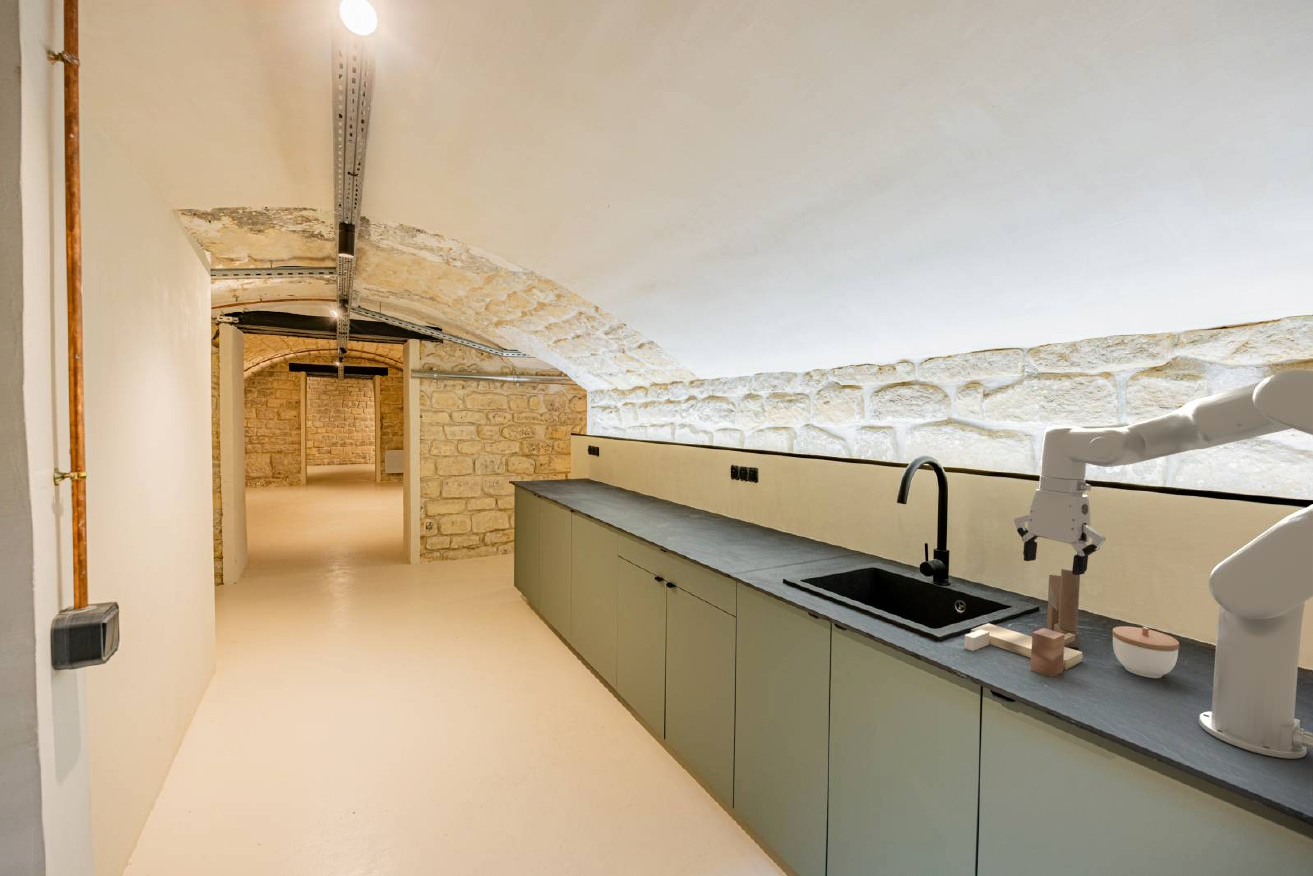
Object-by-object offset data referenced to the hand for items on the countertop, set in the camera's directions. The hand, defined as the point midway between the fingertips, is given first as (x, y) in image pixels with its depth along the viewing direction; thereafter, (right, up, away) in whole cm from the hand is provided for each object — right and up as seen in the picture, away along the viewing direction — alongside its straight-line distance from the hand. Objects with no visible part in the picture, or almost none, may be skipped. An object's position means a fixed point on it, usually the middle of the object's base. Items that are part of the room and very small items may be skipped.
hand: (1053, 567), depth 120 cm
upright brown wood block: (+3, -22, +3) cm, 23 cm away
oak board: (+2, -22, +12) cm, 25 cm away
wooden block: (+15, -22, +18) cm, 32 cm away
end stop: (-9, -21, +13) cm, 26 cm away
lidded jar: (+20, -23, +1) cm, 30 cm away
